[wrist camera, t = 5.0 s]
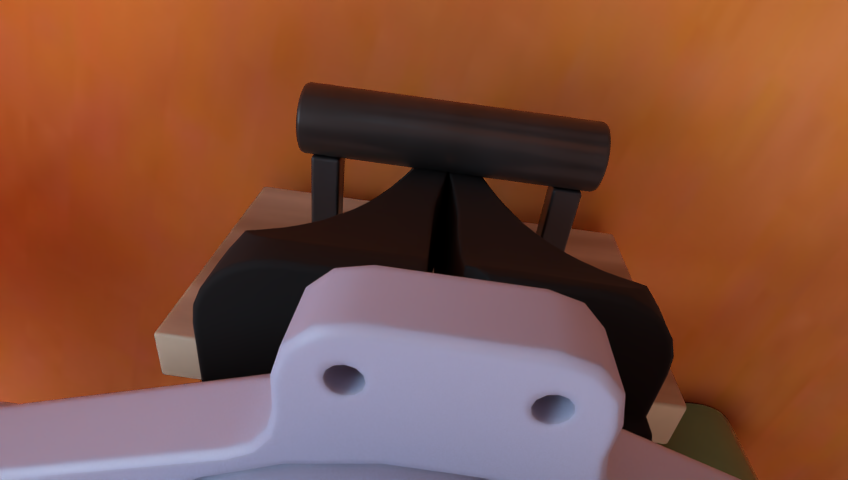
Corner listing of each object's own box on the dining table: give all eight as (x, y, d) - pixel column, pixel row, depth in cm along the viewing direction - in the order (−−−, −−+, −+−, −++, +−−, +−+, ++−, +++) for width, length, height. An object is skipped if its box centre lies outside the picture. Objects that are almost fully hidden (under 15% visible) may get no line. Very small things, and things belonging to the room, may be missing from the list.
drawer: (255, 25, 14) (103, 106, 8) (666, 81, 14) (803, 202, 8) (277, 442, 23) (212, 619, 17) (526, 477, 23) (544, 666, 17)
